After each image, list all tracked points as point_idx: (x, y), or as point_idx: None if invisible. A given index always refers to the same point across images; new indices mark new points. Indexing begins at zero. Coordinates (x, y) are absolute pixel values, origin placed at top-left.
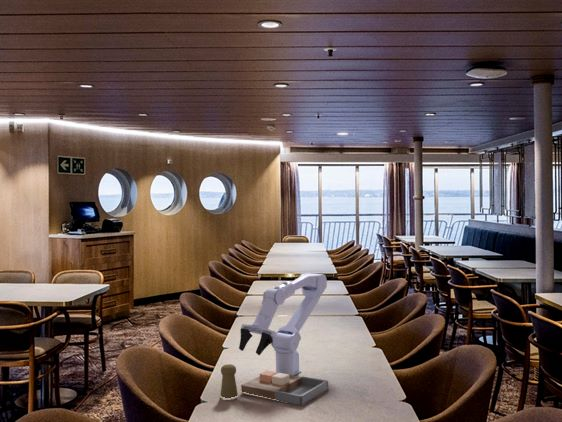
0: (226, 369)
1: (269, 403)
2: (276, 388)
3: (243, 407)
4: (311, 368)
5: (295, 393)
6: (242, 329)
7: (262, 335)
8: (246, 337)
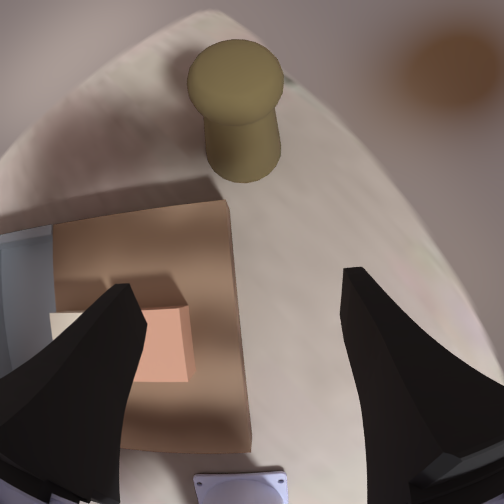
0: (214, 44)
1: (75, 197)
2: (65, 260)
3: (130, 115)
4: None
5: (48, 323)
6: (501, 422)
7: (2, 409)
8: (382, 425)
